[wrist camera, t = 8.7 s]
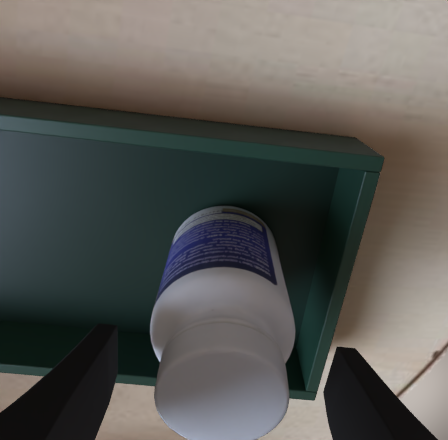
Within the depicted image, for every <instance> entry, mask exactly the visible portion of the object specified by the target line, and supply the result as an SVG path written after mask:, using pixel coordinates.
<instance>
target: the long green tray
mask: <svg viewBox="0 0 448 440" xmlns="http://www.w3.org/2000/svg"><path fill="white" fill-rule="evenodd" d="M383 162H384V157H383V156H382V155H380V154H379V153H377V152H376V151H374V150H373V149H371V148H370V147H368V146H367V145H366V144H364V143H363V142H361V141H360V140H358V139H357V138H355V137H346V136H337V135H328V134H319V133H311V132H302V131H293V130H284V129H275V128H267V127H258V126H249V125H240V124H231V123H223V122H214V121H205V120H196V119H187V118H179V117H170V116H161V115H152V114H144V113H135V112H126V111H117V110H108V109H100V108H91V107H82V106H73V105H64V104H56V103H47V102H38V101H29V100H20V99H12V98H3V97H0V372H2V373H13V374H24V375H35V376H45V375H46V374H48V373H49V372H50V371H51V370H52V369H53V368H54V367H55V366H56V365H57V364H58V363H59V362H60V361H61V360H62V359H63V358H64V357H65V356H67V355H68V354H69V353H70V352H71V351H72V350H73V349H74V348H75V347H76V345H77V344H78V343H79V342H80V341H81V340H82V339H83V338H84V337H85V336H86V335H87V334H88V333H89V332H90V331H91V330H92V329H93V328H94V327H95V326H96V325H97V324H98V323H100V324H110V325H117V342H118V373H117V377H116V381H115V383H124V384H135V385H147V386H155V385H156V380H157V374H158V369H159V365H160V361H159V360H158V358H157V356H156V354H155V352H154V349H153V346H152V343H151V336H150V323H151V317H152V312H153V308H154V305H155V301H156V297H157V294H158V291H159V287H160V283H161V280H162V276H163V273H164V270H165V266H166V262H167V259H168V255H169V252H170V248H171V245H172V242H173V239H174V236H175V234H176V232H177V230H178V229H179V227H180V226H181V225H182V224H183V222H184V221H186V220H187V219H188V218H189V217H190V216H192V215H193V214H195V213H197V212H199V211H201V210H203V209H206V208H210V207H215V206H233V207H238V208H242V209H244V210H247V211H249V212H251V213H253V214H255V215H256V216H258V217H259V218H260V219H261V220H262V221H263V222H264V223H265V224H266V225H267V226H268V227H269V229H270V230H271V232H272V234H273V237H274V239H275V242H276V246H277V249H278V254H279V259H280V263H281V267H282V272H283V276H284V280H285V284H286V288H287V292H288V295H289V299H290V303H291V307H292V311H293V317H294V323H295V341H294V346H293V349H292V352H291V354H290V356H289V358H288V360H287V362H286V363H285V366H286V372H287V379H288V387H289V398H291V399H302V400H315V398H316V394H317V391H318V387H319V384H320V380H321V377H322V373H323V370H324V366H325V363H326V359H327V356H328V353H329V349H330V346H331V342H332V339H333V335H334V332H335V328H336V325H337V321H338V318H339V314H340V311H341V307H342V304H343V301H344V297H345V294H346V290H347V287H348V283H349V280H350V276H351V273H352V269H353V266H354V262H355V259H356V255H357V252H358V249H359V245H360V242H361V238H362V235H363V231H364V228H365V224H366V221H367V217H368V214H369V210H370V207H371V203H372V200H373V197H374V193H375V190H376V186H377V183H378V179H379V176H380V173H379V172H380V171H381V169H382V165H383Z"/></svg>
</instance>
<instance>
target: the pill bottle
mask: <svg viewBox="0 0 448 440" xmlns="http://www.w3.org/2000/svg"><path fill="white" fill-rule="evenodd" d="M150 336H151V343H152V346H153V349H154V352H155V354H156V356H157V358H158V360H159V361H160V365H159V369H158V374H157V380H156V385H155V392H154V399H155V404H156V408H157V411H158V413H159V415H160V417H161V418H162V420H163V421H164V422H165V423H166V424H167V425H168V427H169V428H171V429H172V430H173V431H175V432H176V433H177V434H179V435H181V436H183V437H185V438H187V439H189V440H256V439H258V438H260V437H262V436H264V435H266V434H267V433H269V432H270V431H271V430H272V429H274V428H275V427H276V426H277V425H278V424H279V423H280V421H281V420H282V419H283V417H284V416H285V414H286V411H287V408H288V404H289V387H288V379H287V372H286V366H285V363H286V362H287V360H288V358H289V356H290V354H291V352H292V349H293V346H294V341H295V323H294V317H293V311H292V307H291V303H290V299H289V295H288V292H287V288H286V284H285V280H284V276H283V272H282V267H281V263H280V259H279V254H278V249H277V246H276V242H275V239H274V237H273V234H272V232H271V230H270V229H269V227H268V226H267V225H266V224H265V223H264V222H263V221H262V220H261V219H260V218H259V217H258V216H256V215H255V214H253V213H251V212H249V211H247V210H244V209H242V208H238V207H233V206H215V207H210V208H206V209H203V210H201V211H199V212H197V213H195V214H193V215H192V216H190V217H189V218H188V219H187V220H186V221H184V222H183V224H182V225H181V226H180V227H179V229H178V230H177V232H176V234H175V236H174V239H173V242H172V245H171V248H170V252H169V255H168V259H167V262H166V266H165V270H164V273H163V276H162V280H161V283H160V287H159V291H158V294H157V297H156V301H155V305H154V308H153V312H152V317H151V323H150Z"/></svg>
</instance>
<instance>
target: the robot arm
mask: <svg viewBox="0 0 448 440" xmlns="http://www.w3.org/2000/svg"><path fill="white" fill-rule="evenodd" d="M117 373H118V342H117V325H110V324H100V323H98V324H97V325H96V326H95V327H94V328H93V329H92V330H91V331H90V332H89V333H88V334H87V335H86V336H85V337H84V338H83V339H82V340H81V341H80V342H79V343H78V344H77V345H76V347H75V348H74V349H73V350H72V351H71V352H70V353H69V354H68V355H67V356H65V357H64V358H63V359H62V360H61V361H60V362H59V363H58V364H57V365H56V366H55V367H54V368H53V369H52V370H51V371H50V372H49V373H48V374H46V375H45V376H44V377H43V378H42V379H41V380H40V381H38V382H37V383H36V384H35V385H34V386H33V387H32V388H30V389H29V390H28V391H27V392H26V393H25V394H23V395H22V396H21V397H20V398H18V399H17V400H16V401H15V402H14V403H12V404H11V405H10V406H8V407H7V408H6V409H4V410H3V411H2V412H1V413H0V440H95V438H96V435H97V433H98V430H99V428H100V425H101V423H102V420H103V418H104V415H105V413H106V410H107V408H108V405H109V402H110V399H111V395H112V392H113V388H114V384H115V381H116V377H117ZM324 399H325V405H326V412H327V417H328V423H329V427H330V431H331V434H332V438H333V440H438V439H437V438H436V437H435V436H434V435H433V434H431V432H429V430H428V429H427V428H426V427H425V426H424V425H423V424H422V423H421V422H420V421H419V420H418V419H417V418H416V417H415V416H414V415H413V414H412V413H411V412H410V411H409V410H408V409H407V408H406V406H405V405H404V404H403V403H402V402H401V401H400V400H399V399H398V398H397V397H396V395H395V394H394V393H393V392H392V391H391V390H390V389H389V387H388V386H387V385H386V384H385V383H384V382H383V380H382V379H381V378H380V377H379V376H378V375H377V373H376V372H375V371H374V370H373V369H372V368H371V366H370V365H369V364H368V363H367V362H366V360H365V359H364V358H363V357H362V356H361V354H360V353H359V352H358V351H357V350H356V349H355V348H345V347H337V348H336V352H335V355H334V358H333V362H332V365H331V368H330V372H329V375H328V378H327V382H326V385H325V388H324Z"/></svg>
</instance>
